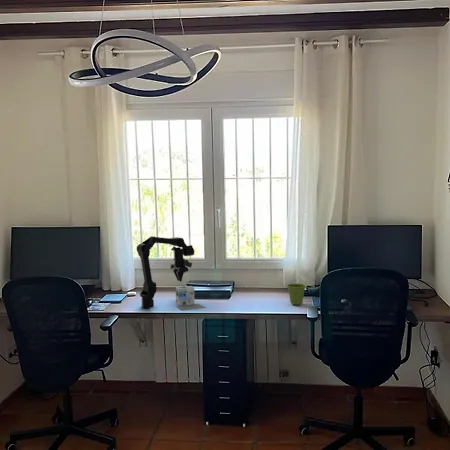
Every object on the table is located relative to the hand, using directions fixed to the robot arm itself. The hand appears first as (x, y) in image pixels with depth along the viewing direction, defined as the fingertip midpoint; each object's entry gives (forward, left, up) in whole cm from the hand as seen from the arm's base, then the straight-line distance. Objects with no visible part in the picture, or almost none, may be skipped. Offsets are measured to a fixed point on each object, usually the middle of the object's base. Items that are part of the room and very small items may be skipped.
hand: (179, 281), depth 334 cm
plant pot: (+61, -43, -13) cm, 76 cm away
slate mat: (0, -20, -13) cm, 24 cm away
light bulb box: (0, -10, -13) cm, 17 cm away
